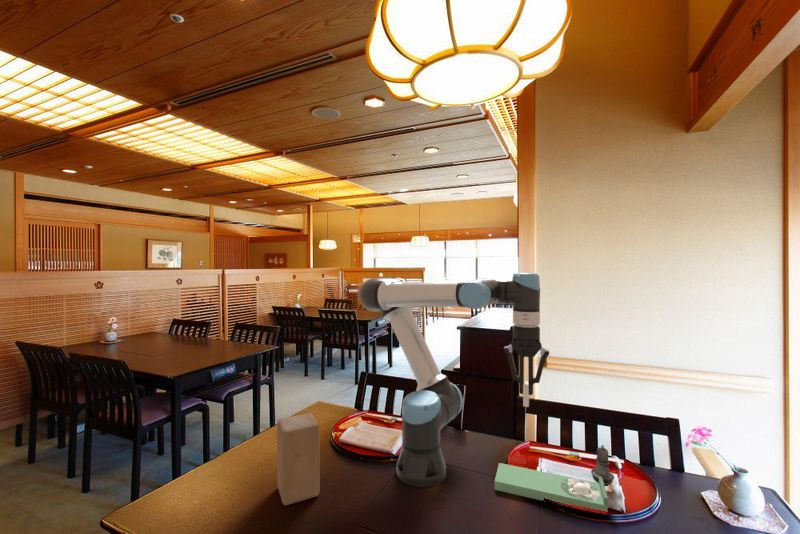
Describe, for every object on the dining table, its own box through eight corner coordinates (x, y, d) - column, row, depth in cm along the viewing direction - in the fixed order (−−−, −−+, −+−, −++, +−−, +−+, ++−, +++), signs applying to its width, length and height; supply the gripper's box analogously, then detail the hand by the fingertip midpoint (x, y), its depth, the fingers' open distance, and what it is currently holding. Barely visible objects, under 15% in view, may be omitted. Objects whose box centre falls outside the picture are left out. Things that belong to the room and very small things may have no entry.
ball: (575, 484, 97) (591, 491, 95) (574, 477, 100) (590, 483, 99) (572, 498, 97) (588, 505, 95) (571, 490, 101) (586, 497, 99)
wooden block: (282, 508, 94) (282, 432, 94) (276, 487, 103) (276, 417, 103) (320, 496, 99) (320, 424, 99) (311, 477, 108) (311, 411, 108)
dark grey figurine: (617, 494, 100) (617, 451, 100) (594, 491, 101) (594, 449, 101) (609, 481, 106) (609, 440, 105) (588, 479, 107) (588, 439, 107)
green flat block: (494, 489, 102) (494, 473, 102) (499, 470, 111) (499, 456, 111) (607, 515, 91) (607, 498, 91) (602, 492, 100) (602, 476, 100)
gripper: (501, 325, 105) (501, 406, 105) (550, 328, 100) (550, 413, 100) (504, 321, 112) (504, 397, 112) (550, 324, 107) (549, 403, 107)
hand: (526, 404), depth 106 cm, fingers closed
